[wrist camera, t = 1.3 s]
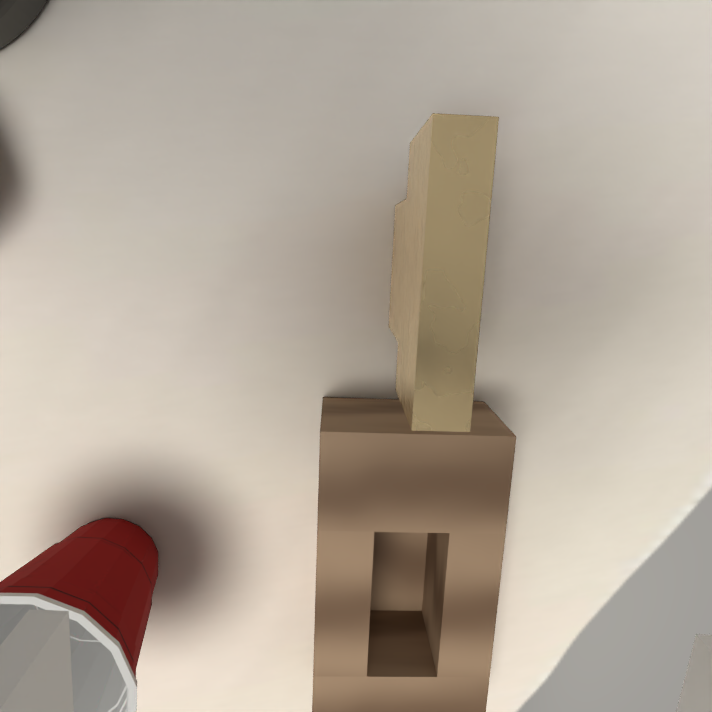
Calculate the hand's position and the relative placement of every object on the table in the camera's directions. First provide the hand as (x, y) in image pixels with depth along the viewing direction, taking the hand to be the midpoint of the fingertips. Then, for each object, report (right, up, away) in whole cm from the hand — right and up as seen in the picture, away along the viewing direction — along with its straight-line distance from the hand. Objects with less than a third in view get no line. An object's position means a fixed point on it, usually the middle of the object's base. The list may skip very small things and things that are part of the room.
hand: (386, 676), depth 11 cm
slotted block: (+2, -6, +24) cm, 24 cm away
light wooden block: (+3, +12, +20) cm, 23 cm away
